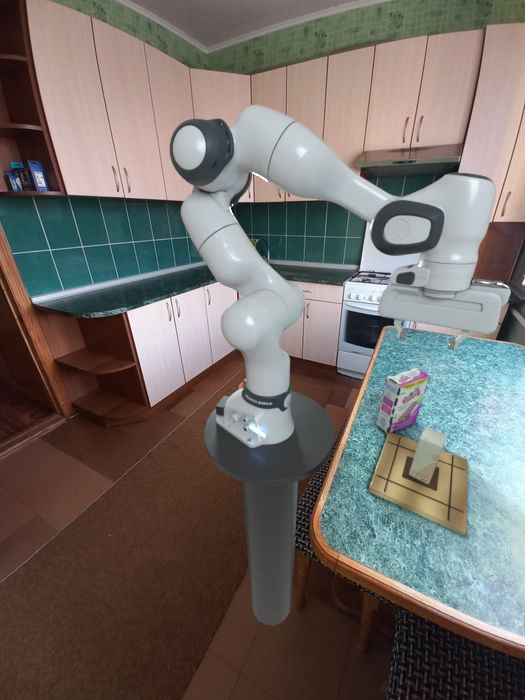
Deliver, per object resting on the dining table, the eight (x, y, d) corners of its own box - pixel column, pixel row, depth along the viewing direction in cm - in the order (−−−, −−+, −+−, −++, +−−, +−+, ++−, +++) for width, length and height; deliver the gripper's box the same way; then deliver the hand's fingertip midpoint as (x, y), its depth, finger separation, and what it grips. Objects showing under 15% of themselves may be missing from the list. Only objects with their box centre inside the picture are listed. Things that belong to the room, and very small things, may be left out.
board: (368, 491, 64) (369, 486, 63) (387, 435, 79) (388, 431, 78) (464, 535, 56) (466, 530, 55) (465, 463, 70) (467, 458, 70)
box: (428, 485, 63) (441, 448, 58) (407, 474, 66) (418, 438, 61) (434, 470, 67) (447, 434, 62) (414, 460, 69) (425, 425, 64)
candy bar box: (388, 436, 79) (400, 386, 71) (374, 424, 83) (384, 376, 75) (417, 423, 83) (431, 375, 75) (402, 413, 87) (415, 366, 80)
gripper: (513, 278, 50) (486, 348, 57) (389, 267, 60) (378, 328, 67) (517, 287, 46) (487, 362, 52) (382, 273, 56) (371, 338, 62)
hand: (425, 343), depth 59 cm, fingers open, 8 cm apart
